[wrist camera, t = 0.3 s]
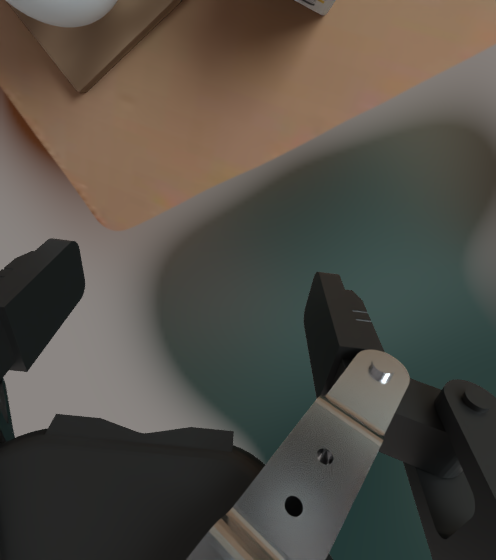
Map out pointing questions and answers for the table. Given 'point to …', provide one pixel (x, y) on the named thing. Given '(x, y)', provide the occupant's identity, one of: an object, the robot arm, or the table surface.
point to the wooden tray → (97, 39)
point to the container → (317, 5)
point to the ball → (64, 11)
